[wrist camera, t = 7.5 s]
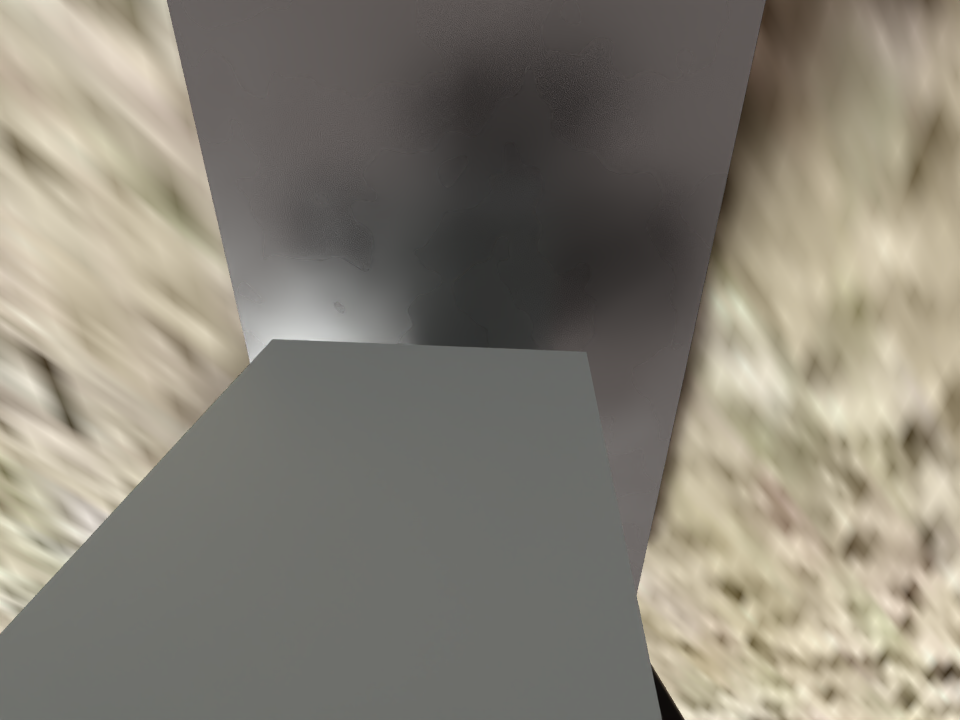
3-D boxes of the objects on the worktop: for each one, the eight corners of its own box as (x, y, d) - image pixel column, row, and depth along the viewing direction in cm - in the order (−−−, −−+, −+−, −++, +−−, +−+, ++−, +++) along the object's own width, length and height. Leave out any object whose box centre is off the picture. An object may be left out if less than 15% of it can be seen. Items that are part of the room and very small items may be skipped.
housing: (586, 351, 8) (698, 888, 3) (550, 664, 12) (569, 1151, 7) (272, 338, 9) (-157, 802, 3) (333, 648, 13) (185, 1098, 7)
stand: (616, 575, 20) (627, 636, 18) (330, 555, 21) (307, 613, 19) (723, 2, 12) (767, -10, 9) (229, 3, 12) (164, -9, 10)
